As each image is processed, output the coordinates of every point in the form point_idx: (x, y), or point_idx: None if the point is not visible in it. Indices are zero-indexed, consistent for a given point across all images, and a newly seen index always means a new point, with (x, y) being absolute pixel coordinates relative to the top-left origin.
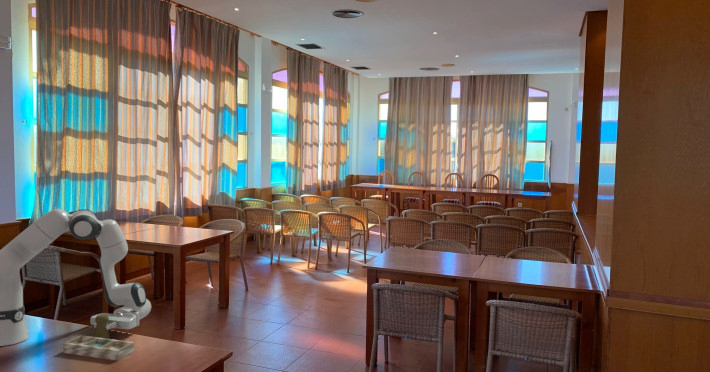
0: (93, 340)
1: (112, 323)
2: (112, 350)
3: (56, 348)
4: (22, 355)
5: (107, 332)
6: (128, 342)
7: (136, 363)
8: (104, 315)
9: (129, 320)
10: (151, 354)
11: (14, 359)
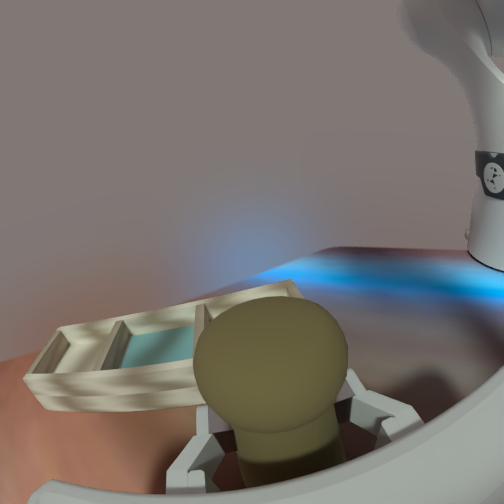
0: (193, 337)
1: (188, 457)
2: (75, 326)
3: (364, 310)
4: (373, 261)
5: (236, 455)
6: (39, 374)
7: (32, 358)
8: (222, 333)
9: (31, 496)
10: (3, 403)
11: (356, 253)
